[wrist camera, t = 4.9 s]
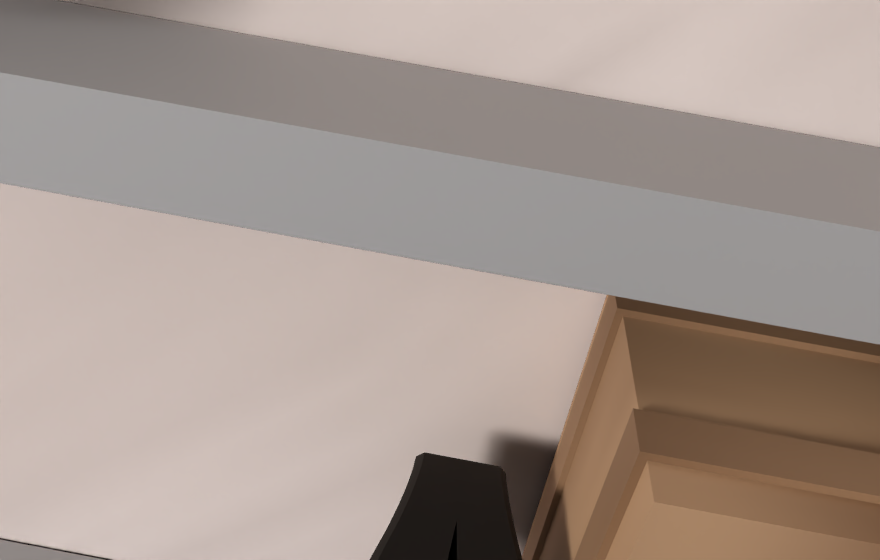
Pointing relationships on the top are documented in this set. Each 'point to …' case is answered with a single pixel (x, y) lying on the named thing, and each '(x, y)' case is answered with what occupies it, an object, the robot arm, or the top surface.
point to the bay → (439, 169)
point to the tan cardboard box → (714, 444)
